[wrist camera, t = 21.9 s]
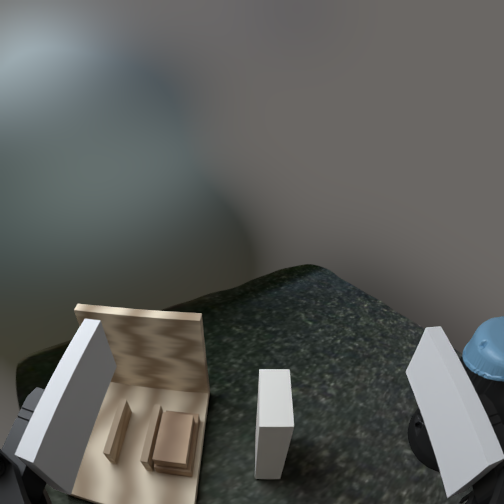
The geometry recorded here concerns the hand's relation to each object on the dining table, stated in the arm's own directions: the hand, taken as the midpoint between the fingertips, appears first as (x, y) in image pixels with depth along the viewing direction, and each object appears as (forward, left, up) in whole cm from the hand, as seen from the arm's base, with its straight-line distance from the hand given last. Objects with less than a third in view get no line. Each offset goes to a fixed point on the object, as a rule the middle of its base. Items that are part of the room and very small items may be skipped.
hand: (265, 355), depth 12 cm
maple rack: (+9, -19, -36) cm, 42 cm away
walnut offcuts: (+3, -16, -34) cm, 38 cm away
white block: (-8, -10, -36) cm, 38 cm away
